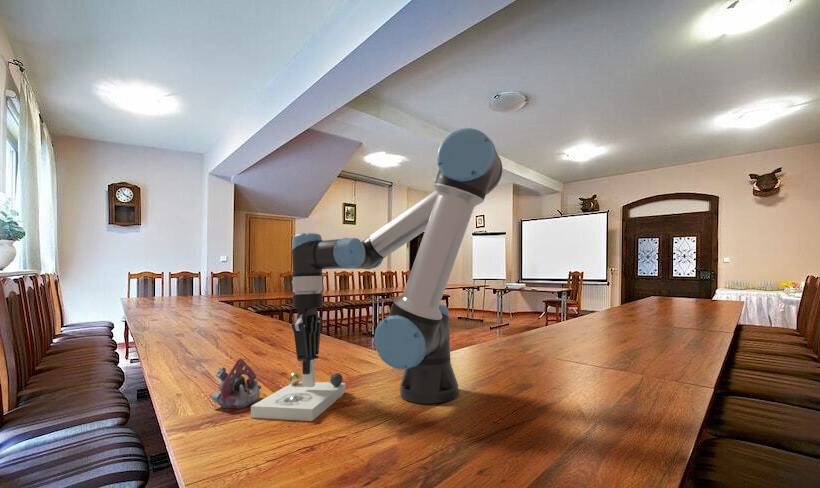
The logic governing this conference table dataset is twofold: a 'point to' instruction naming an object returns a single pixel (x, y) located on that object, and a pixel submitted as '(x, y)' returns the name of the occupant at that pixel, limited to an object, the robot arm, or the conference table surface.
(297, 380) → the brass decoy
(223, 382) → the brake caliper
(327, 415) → the conference table surface
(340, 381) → the dark grey ball
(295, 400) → the steel ball
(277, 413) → the board
